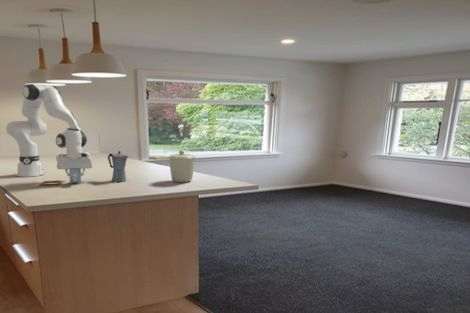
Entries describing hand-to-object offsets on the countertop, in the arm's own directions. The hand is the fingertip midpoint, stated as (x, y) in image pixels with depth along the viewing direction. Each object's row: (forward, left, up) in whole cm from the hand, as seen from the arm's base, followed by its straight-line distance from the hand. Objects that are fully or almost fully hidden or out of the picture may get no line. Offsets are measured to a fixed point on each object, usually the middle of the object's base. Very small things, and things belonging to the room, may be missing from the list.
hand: (75, 175), depth 206 cm
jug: (+4, 0, -3) cm, 6 cm away
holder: (0, -14, -5) cm, 15 cm away
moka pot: (-5, +25, -6) cm, 26 cm away
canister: (+6, +66, -6) cm, 67 cm away
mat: (0, 0, -5) cm, 5 cm away
